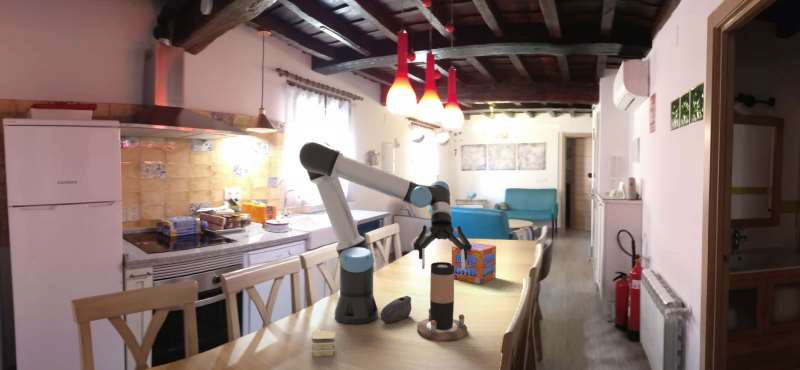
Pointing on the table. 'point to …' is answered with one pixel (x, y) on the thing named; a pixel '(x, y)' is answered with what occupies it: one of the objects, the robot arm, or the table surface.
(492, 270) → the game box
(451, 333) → the brown round pegged stand
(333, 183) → the robot arm
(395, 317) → the perforated stone tool
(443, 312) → the travel mug
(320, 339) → the beige layered block
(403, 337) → the table surface
